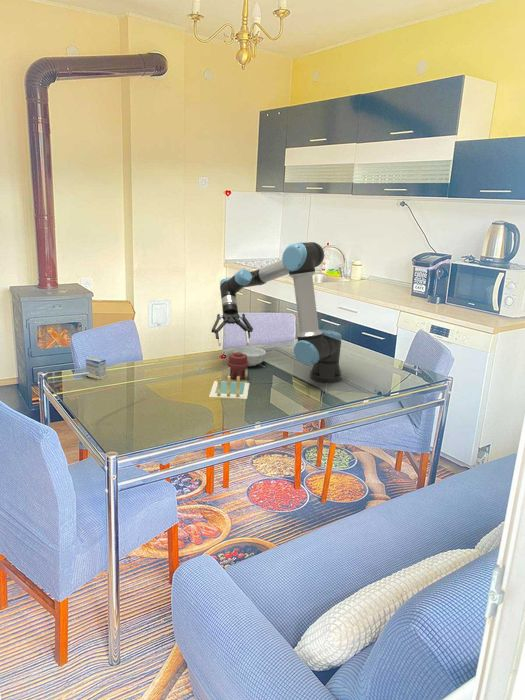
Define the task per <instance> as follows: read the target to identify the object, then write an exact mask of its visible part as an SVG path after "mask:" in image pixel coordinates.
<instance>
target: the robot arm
mask: <svg viewBox="0 0 525 700" xmlns="http://www.w3.org/2000/svg"><path fill="white" fill-rule="evenodd" d="M324 259H325V251H324V248H323V247H322V245H320V244H319V243H317V242H315V241H309V242H296V243H292V244H289V245H288V246H287V247H285V249H284V251H283V253H282V258H281V259H280V260H278V261H276V262H273V263H271V264H268V265H266V266H263V267H261V268H258V269H256V270H252V271H249V270H248V269H246V268H242V269H240V270H239V271H237V272H235V274H233V276H231V277H224V278H222V279H221V280H220V282H219V290H220V296H221V297H220V299H221V307H222V314H220V313H218V314H217V315H216V320H215V321H214V324H213V326H212V327H211V333H213V334H214V335H215V339H216V340H217V341H218V346H219V347H221V345H222V340H221V339H222V338H221V330H222V329H223V328H224V326H226V325H227V324H228V325H231V324H232V325H235V324H236V325H237V326H239V327H240V328H241V329H242V330H243V331H244V332H245V333H244V334H245V343H246V346H249V343H250V339H251V333H253V331H254V327H253V326H252V325H251V324H250V322H249V320H248V319H247V318H246V315H245V313H242V314H239V310H238V302H237V301H238V300H237V293H238V292H240V291H241V290H242V289H244V288H250V287H256V286H263V285H265V284H267V283H268V282H270V281H274V280H275V279H279V278H282V277H283V276H287V275H289V276H290V278H291V279H292V281H293V288H294V289H293V290H294V295H295V303H296V312H297V320H298V327H299V332H298V333H297V335H296V340H297V342H296V343H295V344H294V347H293V354H294V356H295V358H296V360H297V361H299V362H300V363H301V364H302V365H305V366H310V365H311V368H310V371H309V377H310V379H311V380H314V381H316V382H319V381H320V383H326V382H332V383H336V382H335V381H338V380H340V379H341V380H342V376H343V375H342V370H341V365H340V356H341V348H342V334H341V333H339V332H337V331H336V330H335V331H334V330H328V329H320V327H319V321H318V313H317V304H316V295H315V287H314V286H315V285H314V277H313V276H314V275H315V274H316V268H317V267H319V266H321V264H323V262H324ZM221 319H222V320H223V321H222V322H221V323H220V324H219V322H220V320H221ZM241 320H242V321H241ZM218 324H219V326H218ZM217 326H218V327H217ZM341 380H340V381H341ZM338 382H339V381H338Z"/></svg>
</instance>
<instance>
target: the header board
mask: <svg viewBox="0 0 525 700" xmlns="http://www.w3.org/2000/svg"><path fill="white" fill-rule="evenodd" d="M236 385H237V381H230V396H229V397H227V381H224V380H223V381H222V380H221V396H217V386H218V380H214V382H213V384H212V387H211V390H210V392H209V395H208V397H209V398H220V399H221V398H222V399H242V400H247V399H248V394H249V388H250V382H241V381H240V395H239V397H236Z"/></svg>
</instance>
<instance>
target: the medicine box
mask: <svg viewBox="0 0 525 700" xmlns="http://www.w3.org/2000/svg"><path fill="white" fill-rule="evenodd" d="M106 365H107V362H106V359H104V358H98V357H93V356H91V357H88V358H85V372H89V373H91V374H93V375H96V376H99V377H101V376H104V375H106V376H107V366H106Z"/></svg>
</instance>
